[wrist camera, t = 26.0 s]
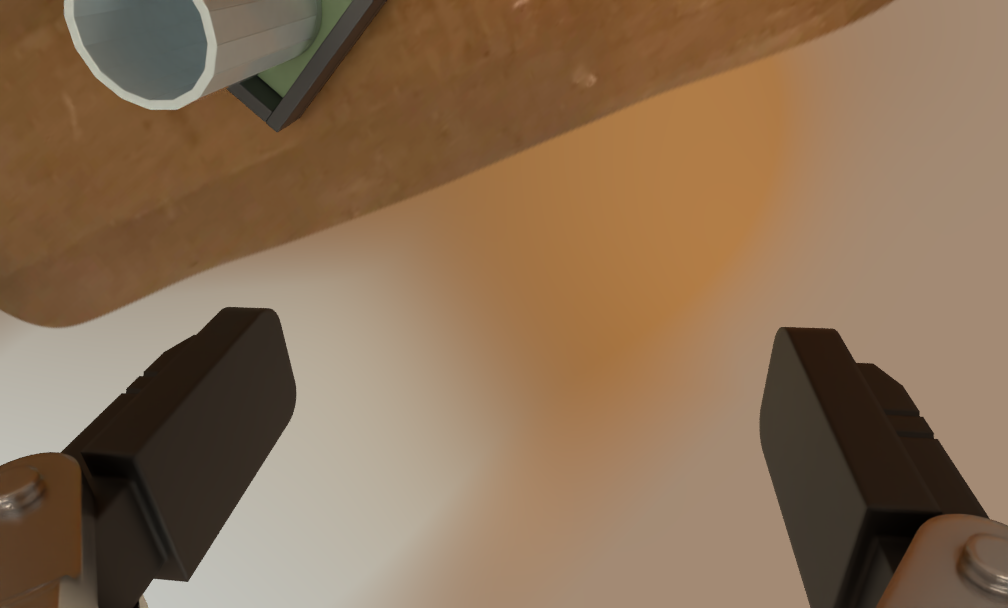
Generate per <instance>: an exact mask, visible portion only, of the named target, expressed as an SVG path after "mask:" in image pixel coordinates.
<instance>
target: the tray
mask: <svg viewBox="0 0 1008 608" xmlns="http://www.w3.org/2000/svg"><path fill="white" fill-rule="evenodd" d="M386 1H387V0H321V6H322V18H321V25H320V29H319V32H318V34H317V37H316V39H315V41H314V42H313V44H312V45H311V46H310V48H309V49H308V50H307V51H306V52H304V53H303V54H302V55H300V56H299V57H297V58H295V59H292V60H290V61H288V62H287V63H285V64H283V65H280V66H278V67H276V68H273V69H271V70H269V71H266V72H264V73H262V74H259V75H257V76H255V77H252V78H250V79H248V80H245V81H243V82H241V83H238V84H236V85H234V86H231V87H229V88H227V90H228V91H230V92H231V93H232V94H233V95H234V96H235V97H237V98H238V99H239V100H240V101H241V102H242V103H244V104H245V105H246V106H247V107H248V108H249V109H251V110H252V111H253V112H254V113H255V114H256V115H258V116H259V117H260V118H261V119H262V120H263V121H265V122H266V123H267V124H268V125H269V126H270V127H271V128H272V129H274V130H275V131H276V132H279V131H280V130H282V129H284V128H285V127H287V126H288V125H290V124H291V123H293V122H294V121H296V120H297V119H299V118H300V117H301V115H302V114H303V113H304V111H305V110H306V108H307V107H308V106H309V104H310V103H311V102H312V100H313V99H314V98H315V96H316V95H317V94H318V92H319V91H320V90H321V88H322V87H323V86H324V84H325V83H326V82H327V80H328V79H329V78H330V76H331V75H332V73H333V72H334V71H335V69H336V68H337V67H338V65H339V64H340V63H341V61H342V60H343V59H344V57H345V56H346V55H347V53H348V52H349V51H350V49H351V48H352V47H353V45H354V44H355V43H356V41H357V40H358V38H359V37H360V36H361V34H362V33H363V32H364V30H365V29H366V28H367V26H368V25H369V24H370V22H371V21H372V20H373V18H374V17H375V16H376V14H377V13H378V12H379V10H380V9H381V8H382V6H383V5H384V3H385V2H386Z"/></svg>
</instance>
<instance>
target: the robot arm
mask: <svg viewBox="0 0 1008 608" xmlns="http://www.w3.org/2000/svg"><path fill="white" fill-rule="evenodd" d="M126 390H127V391H126V394H123V393H122V394H121V395H120V396H118V398H117V399H115V400H114V402H112V403H111V404H110V405H109V406H108V407H107V408H106V409H105V410H104V411H103V412H102V413H101V414H100V415H99V416H98V417H97V418H96V419H95V420H94V421H93V422H92V423H91V424H90V425H89V426H88V427H87V428H86V429H84V431H82V432H81V433H80V435H78V436H77V437H76V438H75V439H74V440H73V441H72V442H71V443H70V444H69V445H68V446H67V447H66V448H65V449H64V450H63V451H62V452H61V453H53V452H49V453H39V454H34V455H30V456H26V457H22V458H19V459H16V460H13V461H10V462H8V463H6V464H3V465H1V466H0V608H148V605H147V603H146V600H145V598H144V596H143V593H144V592H145V590H146V589H147V587H148V586H149V584H150V583H151V581H152V580H153V579H164V580H175V581H185V582H188V581H189V579H190V578H191V576H192V575H193V573H194V571H195V570H196V568H197V567H198V565H199V563H200V562H201V560H202V559H203V557H204V556H205V554H206V552H207V551H208V549H209V548H210V546H211V545H212V543H213V541H214V540H215V538H216V537H217V535H218V534H219V531H220V530H221V529H222V527H223V525H224V524H225V522H226V521H227V519H228V518H229V516H230V515H231V513H232V511H233V510H234V508H235V507H236V505H237V504H238V502H239V500H240V499H241V497H242V495H243V494H244V492H245V491H246V489H247V488H248V486H249V485H250V483H251V481H252V480H253V478H254V477H255V475H256V473H257V472H258V470H259V469H260V467H261V466H262V464H263V462H264V461H265V459H266V458H267V456H268V455H269V453H270V451H271V450H272V448H273V447H274V445H275V444H276V442H277V440H278V439H279V437H280V436H281V434H282V432H283V431H284V429H285V428H286V426H287V425H288V423H289V421H290V419H291V417H292V415H293V412H294V408H295V403H296V385H295V380H294V376H293V372H292V368H291V363H290V360H289V355H288V351H287V347H286V343H285V339H284V335H283V331H282V327H281V323H280V319H279V317H278V315H277V314H276V312H275V311H273V310H272V309H269V308H240V307H239V308H238V307H226V308H224V309H222V310H221V311H220V312H219V313H218V314H217V315H216V316H215V317H214V318H213V319H212V320H211V321H210V322H209V323H208V324H207V325H206V326H205V327H204V328H203V329H202V330H201V331H200V332H199V333H198V334H197V335H193V336H191V337H190V338H188V339H186V340H184V341H183V342H181V343H179V344H177V345H176V346H174V347H172V348H171V349H169V350H167V351H165V352H164V353H163V354H162V355H161V356H160V357H159V358H158V359H157V360H156V361H155V362H154V363H153V364H151V365H150V366H149V367H148V368H147V369H146V370H145V371H144V376H139V377H138V378H137V379H136V380H135V381H134V382H133V383H132V384H131V385H130V386H129V387H128V388H127V389H126ZM933 435H934V433H933V431H932V430H931V428H930V427H929V425H928V424H927V422H926V421H925V419H924V418H923V417H920V416H919V410H918V409H917V407H916V405H915V404H914V402H913V401H912V399H911V398H910V396H909V395H908V393H907V392H906V390H905V389H904V387H903V386H902V385H901V384H899V383H898V382H897V381H896V380H894V379H893V378H892V377H890V376H889V375H888V374H886V373H885V372H884V371H882V370H881V369H880V368H878V367H877V366H876V365H874V364H868V363H867V364H866V363H856V362H855V361H854V359H853V357H852V355H851V354H850V352H849V350H848V349H847V347H846V345H845V343H844V342H843V340H842V338H841V336H840V335H839V333H838V332H837V331H836V330H835V329H825V328H796V327H781V328H779V330H778V331H777V333H776V336H775V340H774V344H773V349H772V354H771V359H770V364H769V369H768V374H767V379H766V384H765V389H764V394H763V400H762V405H761V410H760V439H761V445H762V450H763V453H764V457H765V460H766V463H767V466H768V469H769V473H770V476H771V479H772V482H773V486H774V489H775V492H776V496H777V499H778V502H779V506H780V509H781V512H782V516H783V519H784V522H785V525H786V529H787V532H788V535H789V538H790V542H791V545H792V548H793V552H794V555H795V558H796V561H797V565H798V568H799V571H800V574H801V578H802V581H803V584H804V588H805V591H806V594H807V597H808V601H809V604H810V607H811V608H1008V526H1007V525H1005V524H1002V523H1000V522H997V521H994V520H990V519H989V517H988V516H987V514H986V512H985V511H984V509H983V508H982V506H981V505H980V503H979V502H978V501H977V499H976V497H975V496H974V494H973V493H972V491H971V490H970V488H969V486H968V485H967V483H966V482H965V480H964V479H963V477H962V476H961V474H960V473H959V471H958V470H957V468H956V467H955V465H954V464H953V462H952V460H951V459H950V457H949V456H948V454H947V453H946V451H945V450H944V448H943V447H942V445H941V444H940V442H939V441H938V439H934V436H933Z"/></svg>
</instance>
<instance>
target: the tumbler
mask: <svg viewBox="0 0 1008 608" xmlns="http://www.w3.org/2000/svg"><path fill="white" fill-rule="evenodd" d="M64 15H65V16H64V17H65V20H66V23H67V26H68V29H69V31H70V34H71V37H72V40H73V43H74V46H75V48H76V50H77V51H78V53H79V54H80V56H81V57H82V59H83V60H84V61H85V63H86V64H87V66H88V67H89V69H90V70H91V71H92V73H93V74H94V76H95V77H96V78H97V79H98V80H100V81H101V82H102V83H103V84H104V85H106V86H107V87H108V88H109V89H111V90H112V91H113V92H114V93H116V94H117V95H118V96H119V97H120V98H122V99H124V100H127V101H129V102H132V103H134V104H137V105H139V106H142V107H144V108H147V109H150V110H177V109H180V108H182V107H185V106H187V105H189V104H192V103H194V102H196V101H199V100H201V99H203V98H206V97H208V96H210V95H213V94H215V93H217V92H220V91H222V90H224V89H227V88H229V87H231V86H234V85H236V84H238V83H241V82H243V81H245V80H248V79H250V78H252V77H255V76H257V75H259V74H262V73H264V72H266V71H269V70H271V69H273V68H276V67H278V66H280V65H283V64H285V63H287V62H288V61H290V60H292V59H295V58H297V57H299V56H300V55H302V54H303V53H304V52H306V51H307V50H308V49H309V48H310V46H311V45H312V44H313V42H314V41H315V39H316V37H317V34H318V32H319V29H320V25H321V18H322V6H321V0H64Z"/></svg>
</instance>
